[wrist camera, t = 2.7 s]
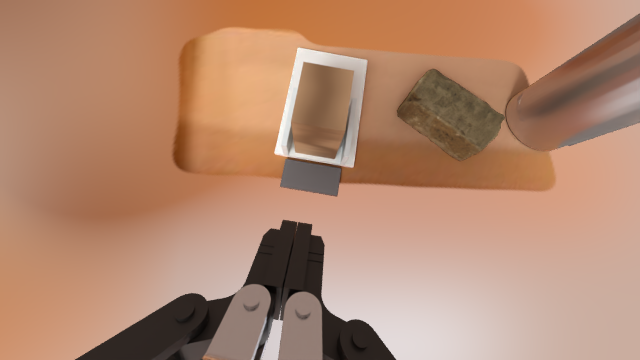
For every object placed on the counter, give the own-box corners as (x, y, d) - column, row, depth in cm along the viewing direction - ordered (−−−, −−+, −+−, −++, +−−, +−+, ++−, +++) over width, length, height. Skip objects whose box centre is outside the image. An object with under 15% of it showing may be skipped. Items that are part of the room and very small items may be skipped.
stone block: (413, 87, 32) (432, 62, 27) (481, 135, 31) (514, 117, 26) (391, 116, 31) (407, 94, 26) (461, 166, 30) (492, 154, 25)
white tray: (366, 63, 32) (373, 42, 29) (348, 198, 28) (354, 193, 24) (298, 50, 32) (297, 28, 29) (268, 184, 28) (262, 177, 24)
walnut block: (341, 113, 30) (354, 70, 22) (334, 159, 28) (345, 131, 20) (304, 106, 30) (303, 61, 22) (295, 152, 28) (290, 121, 20)
